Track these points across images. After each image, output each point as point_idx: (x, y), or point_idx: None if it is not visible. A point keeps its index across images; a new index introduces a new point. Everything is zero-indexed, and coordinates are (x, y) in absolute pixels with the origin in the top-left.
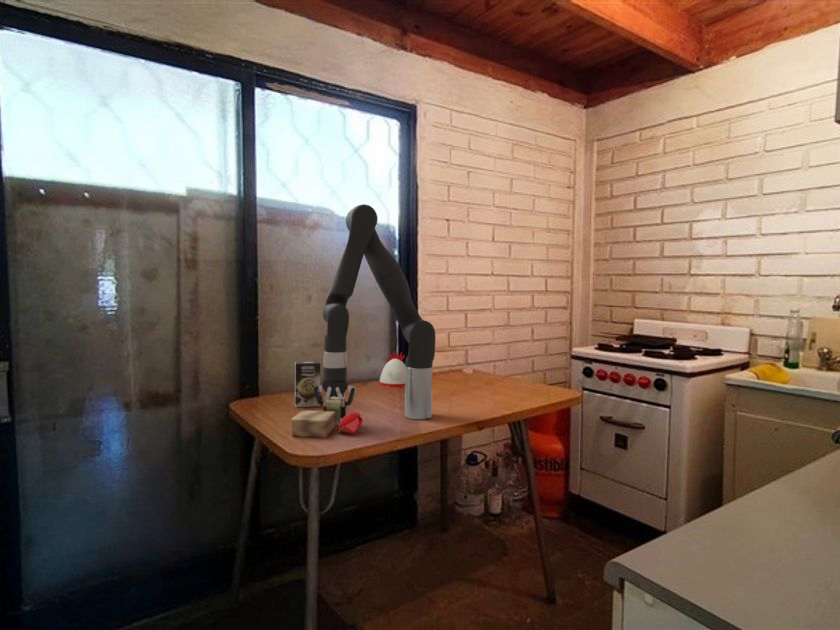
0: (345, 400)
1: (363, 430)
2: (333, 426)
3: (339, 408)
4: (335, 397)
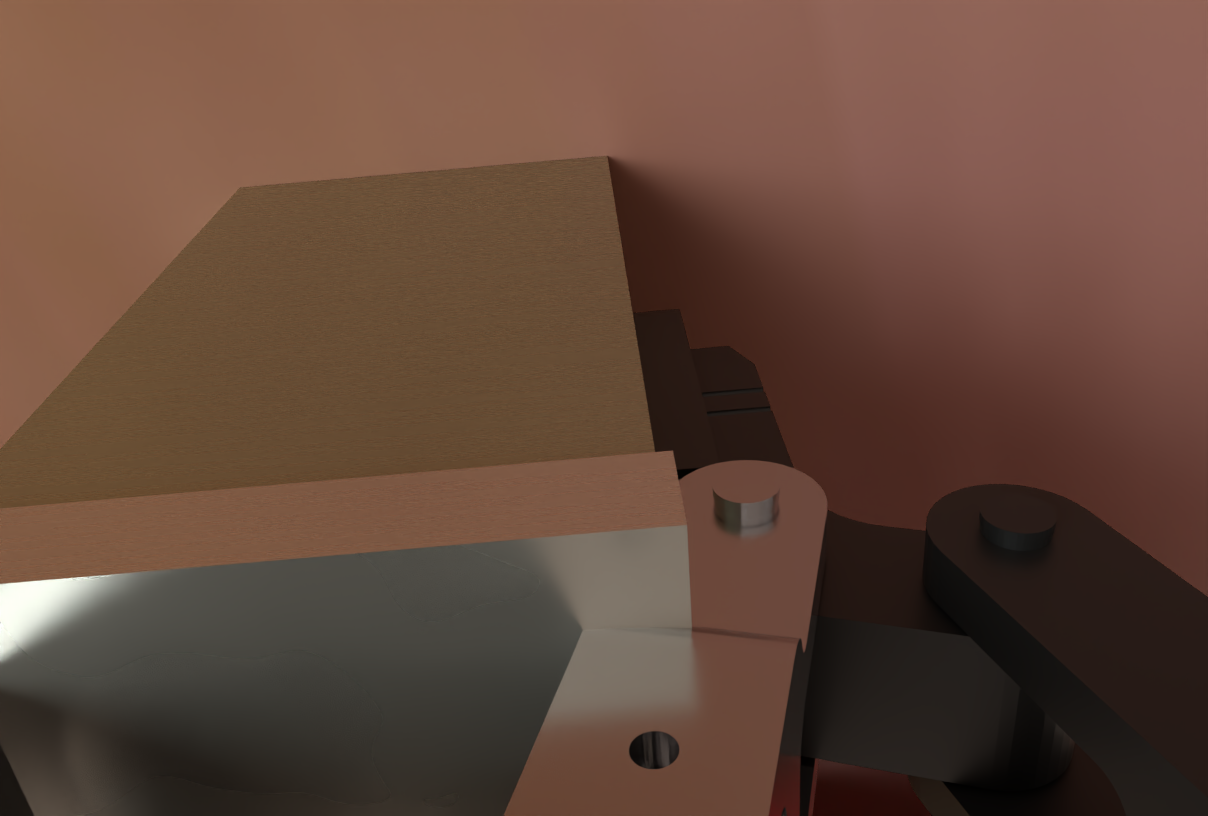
0: (811, 636)
1: None
2: None
3: None
4: (261, 707)
